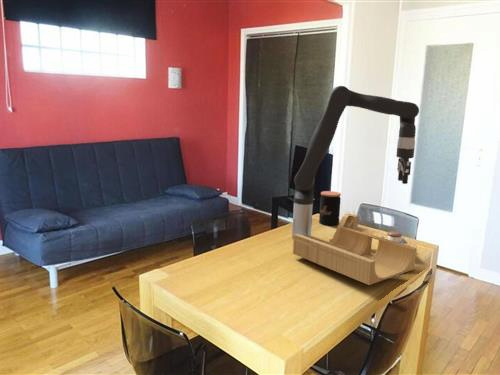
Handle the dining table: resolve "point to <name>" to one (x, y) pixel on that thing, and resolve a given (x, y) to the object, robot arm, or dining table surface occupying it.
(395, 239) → the jar
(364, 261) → the skate ramp
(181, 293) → the dining table surface
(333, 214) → the coffee jar
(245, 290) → the dining table surface
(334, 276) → the dining table surface
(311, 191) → the robot arm
